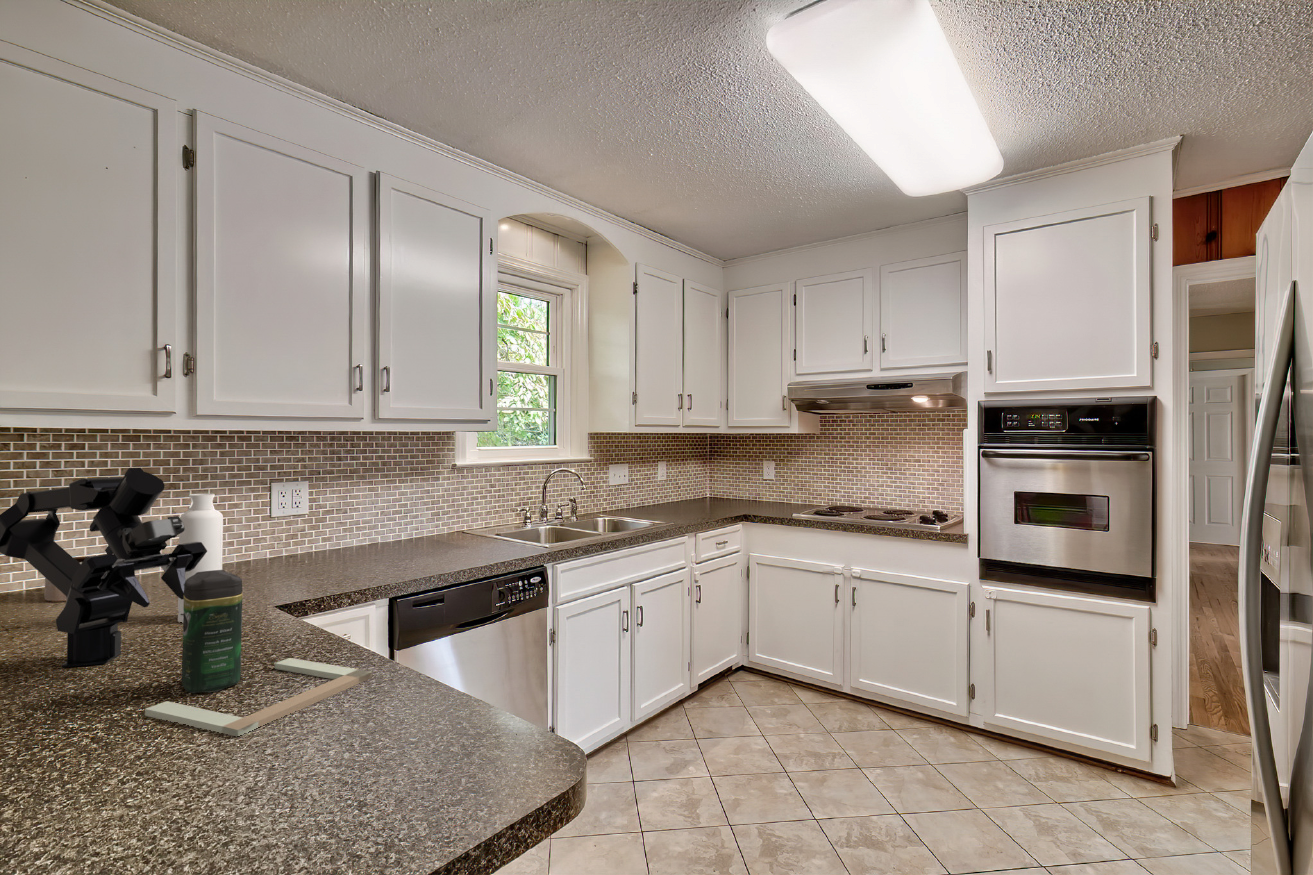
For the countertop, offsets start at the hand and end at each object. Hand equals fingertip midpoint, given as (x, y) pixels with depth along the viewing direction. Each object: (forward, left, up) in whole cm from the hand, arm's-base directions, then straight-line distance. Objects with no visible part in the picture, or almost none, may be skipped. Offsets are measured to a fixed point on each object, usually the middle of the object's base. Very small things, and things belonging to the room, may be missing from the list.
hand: (166, 601), depth 110 cm
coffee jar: (+9, -7, -13) cm, 17 cm away
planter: (-42, +72, -13) cm, 84 cm away
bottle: (-6, +40, -13) cm, 42 cm away
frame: (+18, -15, -13) cm, 27 cm away
